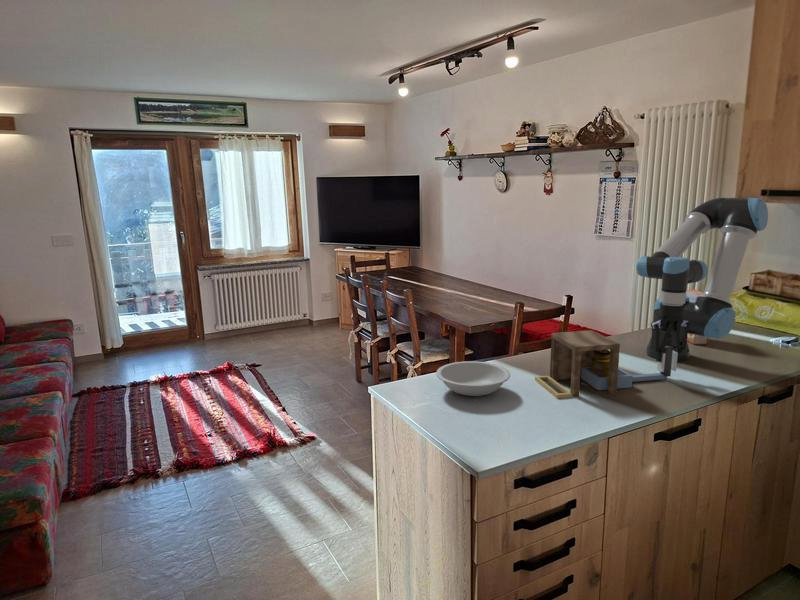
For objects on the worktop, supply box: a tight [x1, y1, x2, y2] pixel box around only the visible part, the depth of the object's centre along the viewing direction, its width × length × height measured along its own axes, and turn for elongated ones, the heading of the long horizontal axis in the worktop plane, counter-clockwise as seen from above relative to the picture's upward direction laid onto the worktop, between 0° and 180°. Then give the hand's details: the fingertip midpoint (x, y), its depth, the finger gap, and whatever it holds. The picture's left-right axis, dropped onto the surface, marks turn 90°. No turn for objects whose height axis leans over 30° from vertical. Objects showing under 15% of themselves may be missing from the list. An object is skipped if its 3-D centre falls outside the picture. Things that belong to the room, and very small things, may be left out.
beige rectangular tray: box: [534, 375, 573, 399], centre depth 178 cm, size 5×17×1 cm, turn 10°
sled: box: [580, 346, 673, 391], centre depth 182 cm, size 30×11×11 cm, turn 100°
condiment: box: [580, 349, 610, 389], centre depth 180 cm, size 7×8×12 cm
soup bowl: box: [435, 360, 511, 397], centre depth 177 cm, size 24×24×7 cm
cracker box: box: [686, 289, 709, 345], centre depth 227 cm, size 14×6×21 cm, turn 179°
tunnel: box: [549, 329, 621, 398], centre depth 179 cm, size 15×17×16 cm
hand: (666, 370), depth 185 cm, fingers open, 4 cm apart
